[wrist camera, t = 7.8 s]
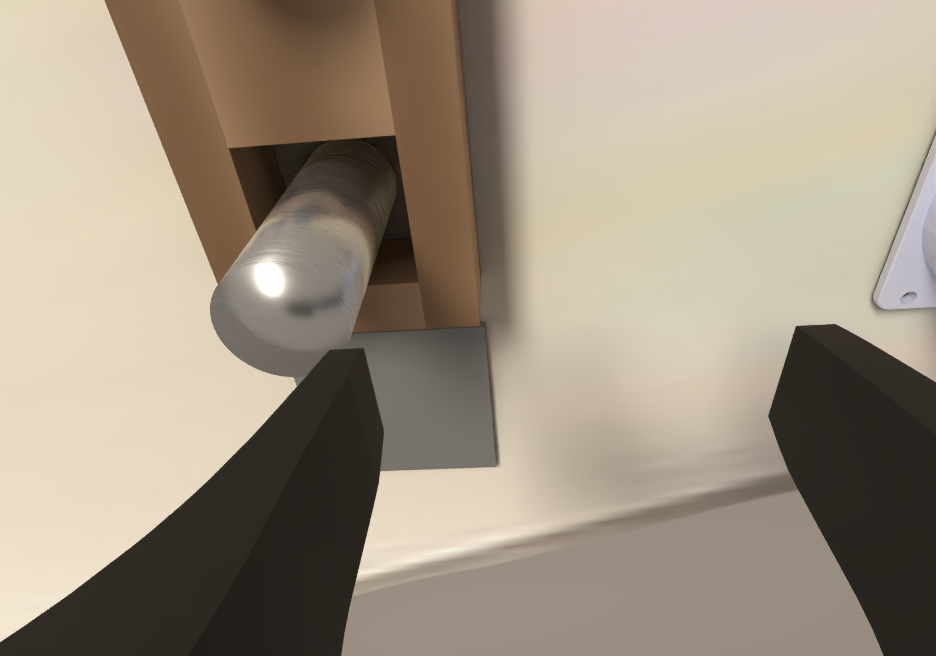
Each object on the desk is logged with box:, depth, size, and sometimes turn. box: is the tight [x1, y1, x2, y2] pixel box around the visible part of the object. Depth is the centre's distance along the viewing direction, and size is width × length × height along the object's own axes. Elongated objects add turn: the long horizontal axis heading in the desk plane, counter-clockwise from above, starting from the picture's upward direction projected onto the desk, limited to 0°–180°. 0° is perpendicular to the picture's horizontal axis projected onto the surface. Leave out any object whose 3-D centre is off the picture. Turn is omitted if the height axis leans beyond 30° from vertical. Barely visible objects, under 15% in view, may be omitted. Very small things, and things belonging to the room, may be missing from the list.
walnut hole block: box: [105, 0, 481, 333], centre depth 15 cm, size 8×16×3 cm, turn 5°
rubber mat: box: [294, 322, 496, 471], centre depth 25 cm, size 8×8×1 cm
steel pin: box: [210, 138, 397, 377], centre depth 16 cm, size 3×3×8 cm
